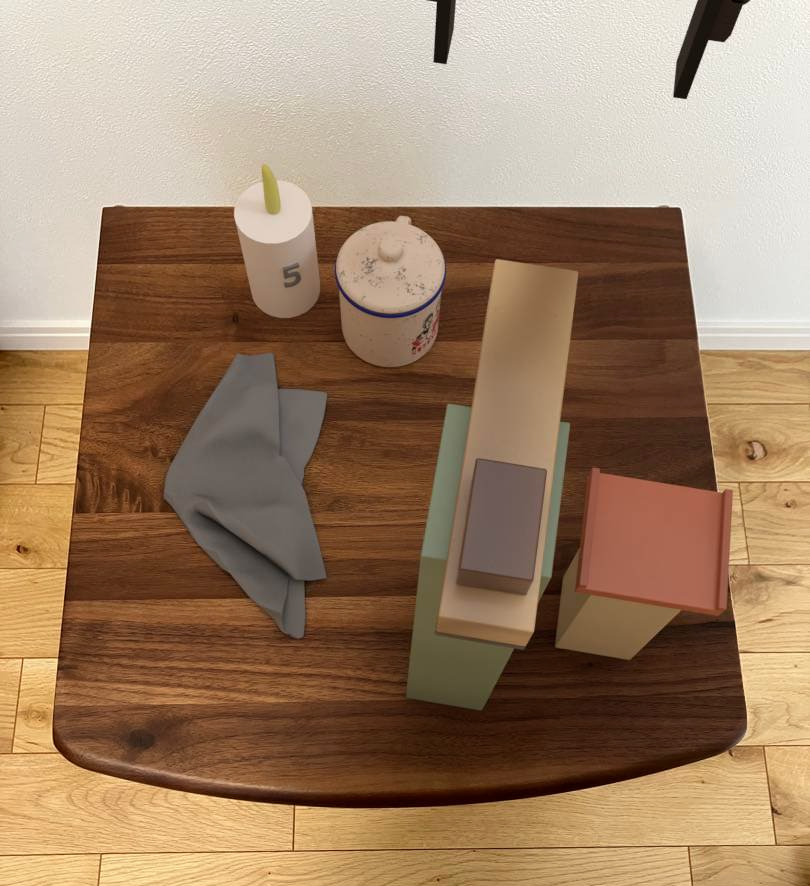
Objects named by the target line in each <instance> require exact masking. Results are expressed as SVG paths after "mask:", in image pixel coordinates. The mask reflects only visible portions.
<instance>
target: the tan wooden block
mask: <svg viewBox="0 0 810 886" xmlns="http://www.w3.org/2000/svg"><path fill="white" fill-rule="evenodd" d="M578 279H579V271H577V270H571V269H565V268H558V267H552V266H546V265H545V266H544V265H538V264H532V263H525V262H519V261H512V260H505V259H499V258H497V259H495V260H494V265H493V270H492V276H491V282H490V288H489V293H488V294H489V295H488V299H487V300H488V301H487V306H486V311H485V318H484V325H483V330H482V331H483V332H482V338H481V343H480V350H479V356H478V362H477V369H476V374H475V379H474V386H473V392H472V399H471V405H470V407H471V411H470V417H469V424H468V430H467V436H466V442H465V448H464V455H463V461H462V467H461V473H460V479H459V486H458V492H457V498H456V504H455V511H454V517H453V523H452V529H451V535H450V542H449V548H448V554H447V560H446V566H445V573H444V579H443V585H442V591H441V598H440V604H439V610H438V616H437V622H436V629H435V635H437V636H443V637H449V638H455V639H461V640H467V641H473V642H479V643H485V644H491V645H497V646H503V647H509V648H514V650H522V651H524V650H525V649H526V647H527V646H528V644H529V641H530V640H531V638H532V637H533V634H534V632H535V628H536V619H537V611H538V604H539V602H538V596H539V588H540V580H541V572H542V564H543V556H544V548H545V540H546V531H547V523H548V515H549V507H550V499H551V491H552V483H553V475H554V467H555V458H556V450H557V442H558V434H559V426H560V422H561V418H562V417H561V416H562V411H563V410H562V409H563V401H564V392H565V384H566V376H567V369H568V368H567V367H568V360H569V353H570V344H571V336H572V329H573V328H572V327H573V319H574V310H575V303H576V297H577V295H576V294H577V287H578Z"/></svg>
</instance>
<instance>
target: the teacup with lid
mask: <svg viewBox="0 0 810 886" xmlns="http://www.w3.org/2000/svg"><path fill="white" fill-rule="evenodd" d="M334 278H335V283H336V285H337V287H338V293H339V295H338V296H339V305H340V306H339V309H340V321H341V331H342V335H343V339H344V341H345V343H346V345H347V346H348V348H349V350H350V351H352V352H353V353H354V354H355V355H356V356H357V357H358V358H359V359H361V360H362V361H364V362H366V363H368V364H370V365H374V366H376V367H383V368H398V367H405V366H407V365H410V364H412V363H414V362H416V361H418V360H419V359H421V358H422V357H424V356H425V355H426V354H427V353H428V352H429V351H430V350H431V348H432V346H434V343H435V341H436V339H437V337H438V332H439V331H438V330H439V324H440V323H439V322H440V312H441V301H442V291H443V288H444V285H445V282H446V278H447V265H446V261H445V257H444V254H443V252H442V250H441V249H440V247H439V245H438V244H437V242H436V241H435V240H434V239H433V238H432V236H430V235H429V234H428V233H426V232H425V231H424V230H422V229H421V228H419V227H416V226H414V225H412V218H410V217H409V216H408V215H399V216H397V218H396V219H395V221H389V220H388V221H379V222H375V223H371V224H368V225H366V226H363V227H362V228H359V229H358V230H356V231H355V232H354V233H353V234H351V235H350V236H349V237H348V238H347V239H346V240H345V242H344V243H343V244H342V246H341V247H340V249H339V252H338V254H337V256H336V258H335V263H334Z"/></svg>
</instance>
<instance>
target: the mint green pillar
mask: <svg viewBox="0 0 810 886" xmlns="http://www.w3.org/2000/svg"><path fill="white" fill-rule="evenodd" d="M470 411H471V406H466V405H459V404H455V403H454V404H453V403H447V404H446V409H445V415H444V421H443V426H442V433H441V437H440V443H439V449H438V454H437V459H436V467H435V472H434V478H433V483H432V489H431V494H430V501H429V506H428V512H427V518H426V523H425V529H424V535H423V541H422V547H421V552H420V559H419V570H418V579H417V588H416V597H415V607H414V615H413V616H414V617H413V623H412V624H413V625H412V635H411V645H410V655H409V662H408V673H407V682H406V692H405V698H406V699H411V700H416V701H422V702H429V703H434V704H440V705H445V706H446V705H447V706H452V707H457V708H463V709H468V710H475V711H479V712H480V711H483V709H484V707H485V705H486V703H487V702H488V699H489V698H490V696H491V694H492V692H493V690H494V688H495V687H496V685H497V682H498V681H499V679H500V677H501V675H502V673H503V671H504V668H505V667H506V665H507V663H508V661H509V660H510V658H511V655H512V654H513V652H514V650H515V648H509V647H503V646H497V645H491V644H485V643H479V642H473V641H467V640H461V639H455V638H449V637H443V636H437V635H435V629H436V622H437V616H438V610H439V604H440V598H441V591H442V585H443V579H444V573H445V566H446V560H447V554H448V548H449V542H450V535H451V529H452V523H453V517H454V511H455V504H456V498H457V492H458V486H459V479H460V473H461V467H462V461H463V455H464V448H465V442H466V436H467V430H468V424H469V417H470ZM570 428H571V423H570V422H565V421H560V426H559V434H558V442H557V450H556V458H555V467H554V475H553V483H552V491H551V499H550V507H549V515H548V523H547V531H546V540H545V548H544V556H543V564H542V572H541V580H540V588H539V596H538V603H539V602H540V600H541V598H542V596H543V594H544V593H545V590H546V588H547V587H548V584H549V582H550V581H551V580H552V575H553V568H554V559H555V552H556V543H557V535H558V526H559V518H560V510H561V502H562V495H563V486H564V479H565V470H566V462H567V453H568V446H569V436H570V431H571V430H570Z"/></svg>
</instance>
